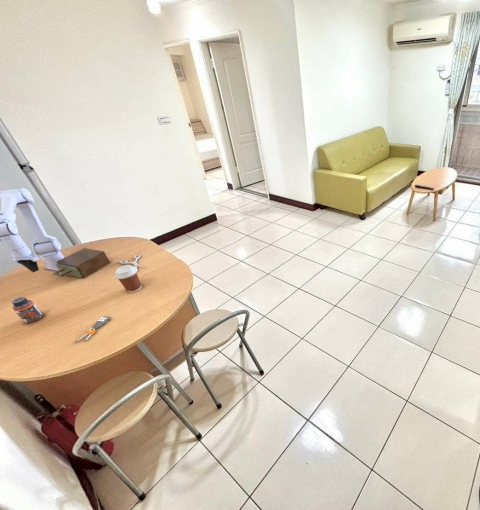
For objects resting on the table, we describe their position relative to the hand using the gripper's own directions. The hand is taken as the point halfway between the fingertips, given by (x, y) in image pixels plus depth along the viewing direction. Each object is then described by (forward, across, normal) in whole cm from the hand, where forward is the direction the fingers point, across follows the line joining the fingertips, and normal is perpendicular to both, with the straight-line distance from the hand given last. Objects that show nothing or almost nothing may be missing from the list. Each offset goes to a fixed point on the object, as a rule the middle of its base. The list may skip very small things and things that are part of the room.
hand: (35, 270), depth 133 cm
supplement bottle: (+11, +18, -18) cm, 28 cm away
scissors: (+10, +26, +28) cm, 39 cm away
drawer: (+10, +3, +14) cm, 17 cm away
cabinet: (+10, +3, +18) cm, 21 cm away
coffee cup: (+11, +44, +10) cm, 46 cm away
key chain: (+11, +50, -16) cm, 54 cm away
